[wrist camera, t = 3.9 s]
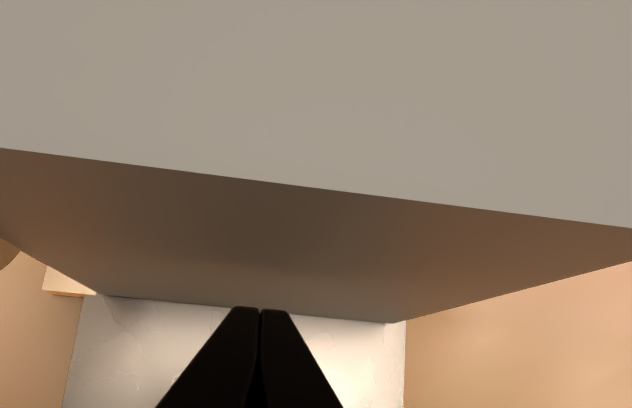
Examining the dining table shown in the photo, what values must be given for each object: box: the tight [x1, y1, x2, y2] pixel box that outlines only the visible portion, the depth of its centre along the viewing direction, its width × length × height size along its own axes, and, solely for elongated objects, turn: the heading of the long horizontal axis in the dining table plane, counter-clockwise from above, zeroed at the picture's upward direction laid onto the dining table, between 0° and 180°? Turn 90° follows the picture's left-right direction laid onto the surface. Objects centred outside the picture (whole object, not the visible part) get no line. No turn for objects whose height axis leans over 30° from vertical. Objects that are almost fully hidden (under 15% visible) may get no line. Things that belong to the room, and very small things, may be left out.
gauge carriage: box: [0, 0, 632, 324], centre depth 11 cm, size 6×10×11 cm, turn 85°
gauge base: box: [42, 265, 406, 408], centre depth 17 cm, size 22×10×1 cm, turn 175°
